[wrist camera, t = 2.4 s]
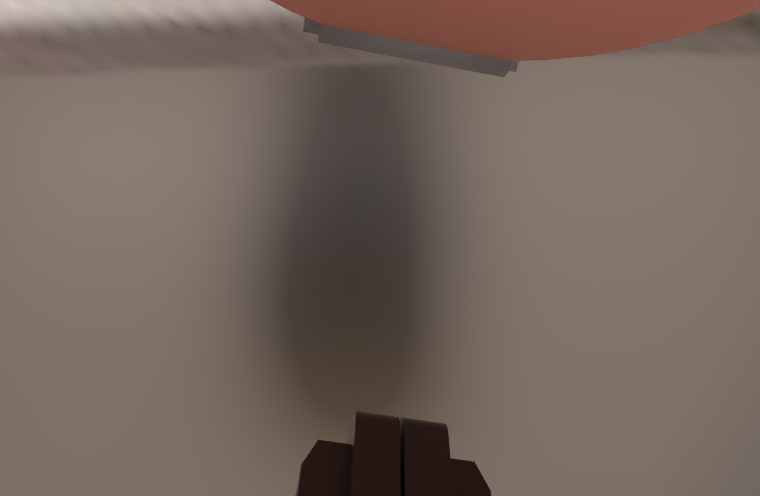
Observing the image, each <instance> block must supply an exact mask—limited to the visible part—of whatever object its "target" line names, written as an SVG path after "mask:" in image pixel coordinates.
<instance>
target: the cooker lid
mask: <svg viewBox="0 0 760 496" xmlns="http://www.w3.org/2000/svg"><path fill="white" fill-rule="evenodd" d="M271 1H273V2H275V3H276V4H278V5H280V6H282V7H284V8H286V9H288V10H290V11H292V12H294V13H297V14H299V15H301V16H304V17H306V18H309V19H311V20H313V21H316V22H318V23H320V31H319V42H321V43H327V44H332V45H337V46H342V47H348V48H353V49H358V50H364V51H369V52H374V53H379V54H385V55H390V56H395V57H400V58H406V59H411V60H416V61H421V62H427V63H432V64H437V65H442V66H448V67H453V68H458V69H464V70H469V71H474V72H480V73H485V74H490V75H495V76H500V77H504V76H506V74H507V73H508V71H509V68H510V66H511V63H512V60H549V59H559V58H570V57H581V56H590V55H596V54H602V53H608V52H614V51H619V50H625V49H631V48H636V47H640V46H644V45H648V44H652V43H656V42H660V41H664V40H668V39H672V38H676V37H680V36H684V35H687V34H690V33H693V32H696V31H699V30H702V29H705V28H708V27H710V26H713V25H716V24H719V23H722V22H725V21H728V20H731V19H734V18H737V17H739V16H741V15H744V14H746V13H748V12H751V11H753V10H756V9H758V8H760V0H271Z"/></svg>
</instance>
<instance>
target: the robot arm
mask: <svg viewBox="0 0 760 496" xmlns="http://www.w3.org/2000/svg"><path fill="white" fill-rule="evenodd" d="M296 496H491V491H490V489H489V487H488V485H487V483H486V482H485V480H484V478H483V476H482V475H481V473H480V471H479V469H478V467H477V466H476V464H475V462H472V461H465V460H458V459H451V458H450V449H449V437H448V429H447V426H446V424H443V423H437V422H429V421H423V420H416V419H409V418H401V419H400V420H399V417H394V416H386V415H380V414H373V413H366V412H360V411H354V414H353V418H352V421H351V426H350V430H349V434H348V438H347V443H346V444H344V443H337V442H330V441H322V440H318V441H317V442H316V444H315V445H314V447H313V448H312V450H311V451H310V453H309V454H308V456H307V457H306V459H305V460H304V462H303V463H302V465H301V470H300V475H299V480H298V485H297V491H296Z"/></svg>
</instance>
